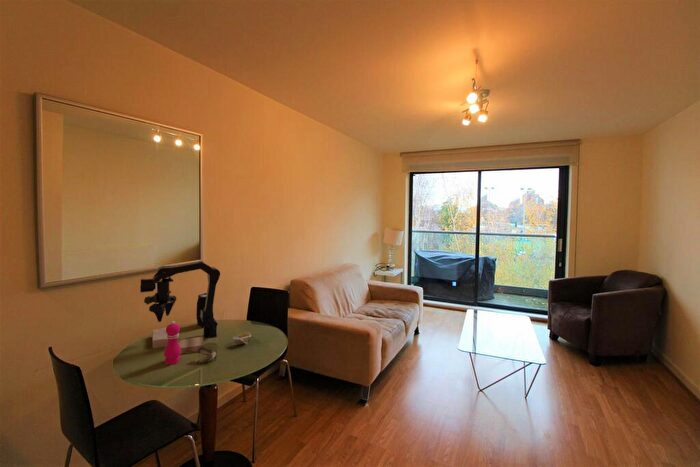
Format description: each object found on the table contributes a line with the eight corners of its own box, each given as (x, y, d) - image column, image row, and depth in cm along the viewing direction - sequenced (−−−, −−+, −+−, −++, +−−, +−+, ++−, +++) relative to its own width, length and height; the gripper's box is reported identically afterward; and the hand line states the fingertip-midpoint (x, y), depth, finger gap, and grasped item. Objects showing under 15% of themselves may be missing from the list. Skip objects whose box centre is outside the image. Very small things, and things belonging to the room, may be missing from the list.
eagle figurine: (215, 352, 163) (196, 352, 159) (218, 344, 159) (199, 343, 155) (214, 366, 157) (194, 366, 153) (218, 358, 154) (197, 358, 150)
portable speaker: (213, 326, 200) (214, 295, 198) (197, 328, 195) (197, 297, 193) (211, 321, 207) (212, 292, 205) (195, 323, 202) (195, 293, 200)
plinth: (203, 341, 177) (203, 336, 177) (203, 350, 166) (203, 345, 166) (178, 344, 172) (178, 339, 172) (177, 354, 161) (177, 348, 161)
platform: (262, 344, 179) (263, 333, 178) (231, 353, 167) (231, 341, 166) (252, 337, 188) (253, 326, 187) (222, 345, 175) (222, 333, 175)
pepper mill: (169, 366, 149) (169, 324, 147) (160, 361, 153) (161, 321, 151) (184, 360, 155) (184, 320, 154) (175, 356, 159) (176, 317, 157)
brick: (170, 346, 170) (170, 337, 170) (152, 348, 166) (152, 340, 166) (169, 335, 184) (169, 327, 184) (152, 337, 180) (152, 329, 180)
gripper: (155, 285, 178) (155, 312, 179) (137, 295, 160) (138, 325, 161) (176, 285, 179) (176, 312, 181) (161, 295, 161) (161, 325, 162)
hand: (163, 318), depth 171 cm, fingers open, 9 cm apart
